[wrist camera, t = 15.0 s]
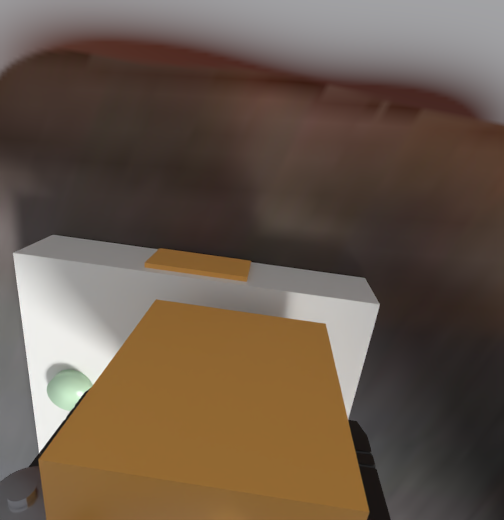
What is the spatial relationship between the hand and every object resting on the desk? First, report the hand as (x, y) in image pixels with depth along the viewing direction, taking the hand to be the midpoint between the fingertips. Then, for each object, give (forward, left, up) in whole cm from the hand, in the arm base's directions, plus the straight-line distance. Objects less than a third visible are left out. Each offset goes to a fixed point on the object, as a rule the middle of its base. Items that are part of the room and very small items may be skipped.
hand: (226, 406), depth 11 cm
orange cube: (0, 0, -1) cm, 1 cm away
